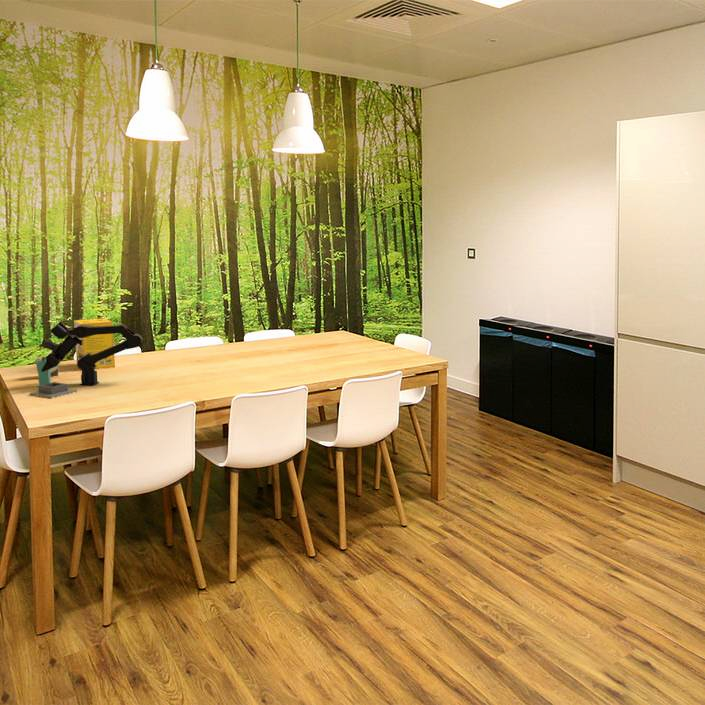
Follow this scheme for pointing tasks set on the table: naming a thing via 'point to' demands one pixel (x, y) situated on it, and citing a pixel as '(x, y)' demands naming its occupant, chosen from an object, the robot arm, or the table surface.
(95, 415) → the table surface
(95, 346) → the packaging box
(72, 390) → the socket
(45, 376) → the plug
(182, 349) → the table surface
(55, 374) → the food container
